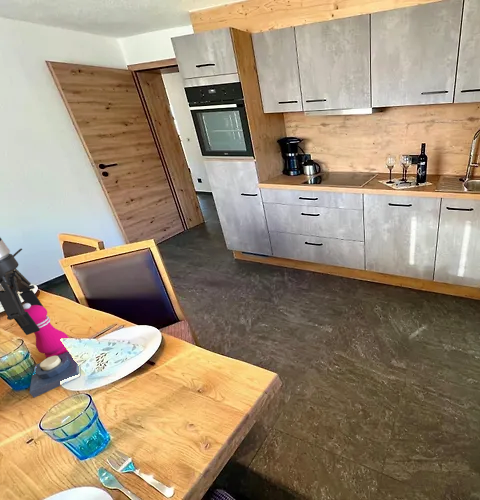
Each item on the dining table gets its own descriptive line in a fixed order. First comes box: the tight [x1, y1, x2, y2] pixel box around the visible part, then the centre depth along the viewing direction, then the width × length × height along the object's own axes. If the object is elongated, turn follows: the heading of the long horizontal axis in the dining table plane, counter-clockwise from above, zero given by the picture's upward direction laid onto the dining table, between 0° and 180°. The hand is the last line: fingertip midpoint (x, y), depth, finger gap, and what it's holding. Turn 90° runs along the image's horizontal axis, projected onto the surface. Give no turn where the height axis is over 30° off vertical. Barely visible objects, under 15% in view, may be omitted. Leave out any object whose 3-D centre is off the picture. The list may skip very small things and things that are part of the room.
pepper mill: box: [22, 302, 70, 359], centre depth 88 cm, size 7×7×20 cm
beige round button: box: [39, 356, 61, 371], centre depth 83 cm, size 4×4×2 cm
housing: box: [28, 352, 79, 398], centre depth 85 cm, size 12×10×4 cm
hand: (35, 320), depth 86 cm, fingers open, 13 cm apart
